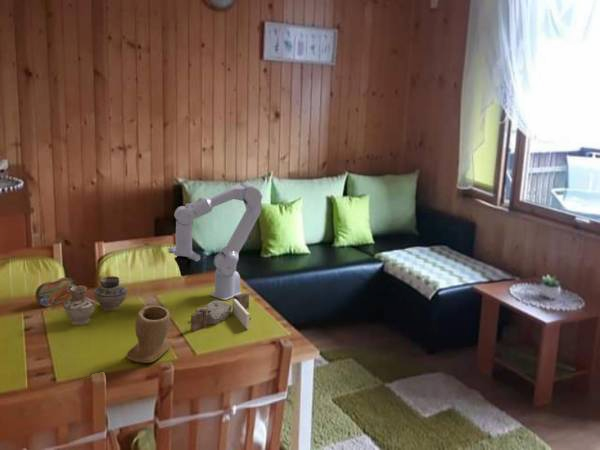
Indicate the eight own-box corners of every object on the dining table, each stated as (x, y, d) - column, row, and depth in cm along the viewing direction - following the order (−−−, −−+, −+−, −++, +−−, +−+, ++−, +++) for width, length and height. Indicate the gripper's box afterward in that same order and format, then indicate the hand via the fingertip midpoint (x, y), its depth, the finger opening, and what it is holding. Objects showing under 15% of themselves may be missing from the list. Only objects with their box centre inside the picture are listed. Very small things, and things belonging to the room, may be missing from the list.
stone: (191, 322, 201) (218, 328, 199) (192, 305, 200) (220, 311, 198) (208, 311, 214) (234, 317, 211) (210, 296, 213) (236, 301, 210)
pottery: (56, 323, 196) (54, 289, 193) (109, 299, 218) (108, 268, 215) (82, 331, 191) (80, 296, 188) (134, 305, 214) (133, 274, 211)
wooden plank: (245, 306, 217) (245, 291, 215) (249, 308, 216) (249, 292, 214) (190, 330, 196) (190, 313, 194) (194, 331, 194) (194, 314, 193)
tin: (39, 309, 206) (38, 286, 204) (34, 307, 208) (33, 284, 206) (78, 297, 218) (77, 276, 216) (73, 295, 220) (72, 274, 218)
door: (232, 311, 211) (232, 298, 210) (237, 311, 212) (237, 297, 210) (246, 328, 198) (246, 314, 196) (251, 327, 198) (251, 313, 197)
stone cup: (157, 369, 170) (156, 320, 166) (121, 361, 173) (119, 313, 169) (183, 347, 184) (183, 301, 180) (149, 340, 187) (148, 295, 183)
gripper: (161, 238, 216) (162, 273, 219) (190, 246, 208) (190, 283, 211) (176, 234, 221) (176, 269, 225) (204, 242, 213) (204, 278, 217)
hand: (184, 275), depth 218 cm, fingers closed
